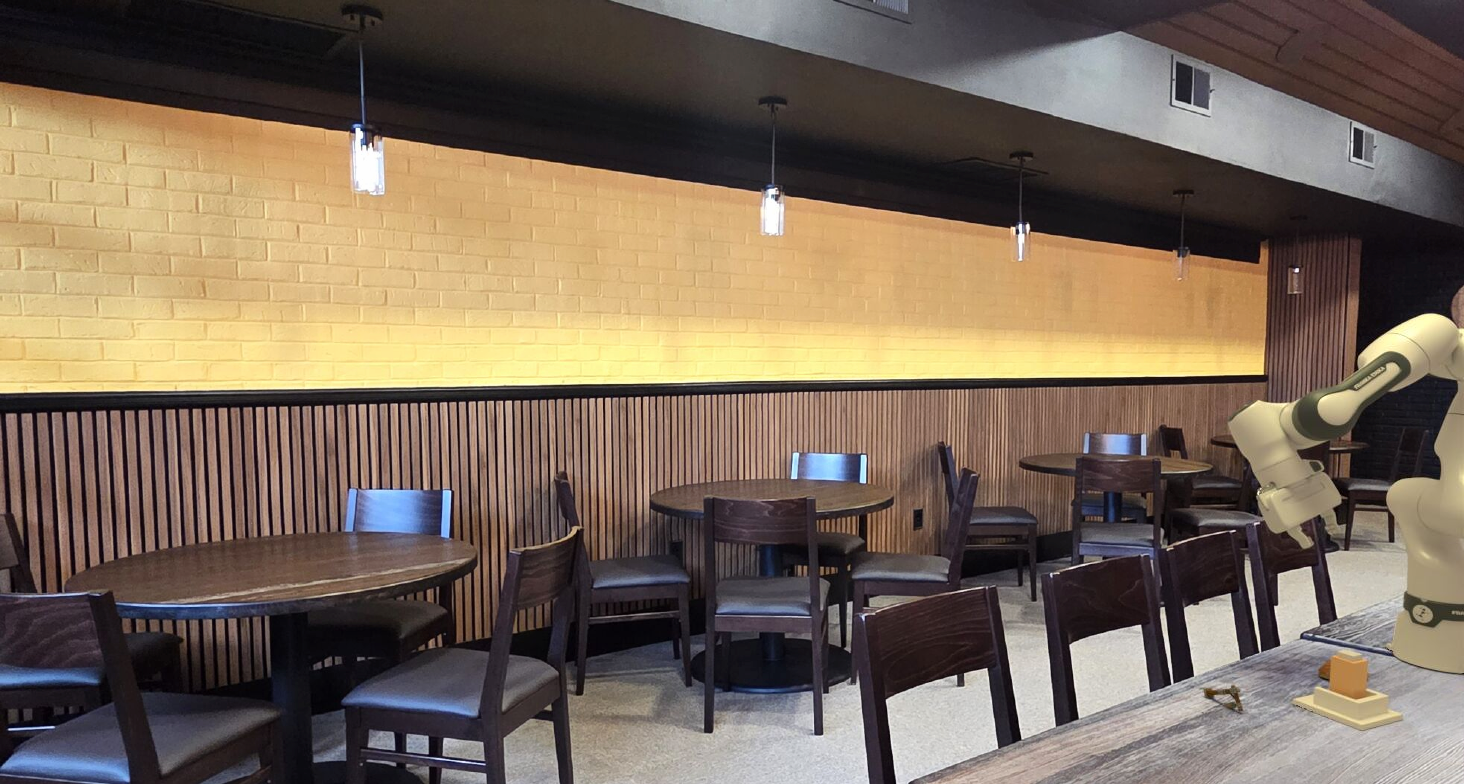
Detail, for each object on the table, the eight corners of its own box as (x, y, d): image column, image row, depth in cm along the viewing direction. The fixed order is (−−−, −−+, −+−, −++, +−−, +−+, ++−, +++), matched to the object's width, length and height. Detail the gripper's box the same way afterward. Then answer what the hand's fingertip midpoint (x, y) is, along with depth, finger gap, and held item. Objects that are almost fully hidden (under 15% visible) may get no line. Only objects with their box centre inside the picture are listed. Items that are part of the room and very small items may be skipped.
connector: (1342, 700, 160) (1345, 647, 160) (1365, 708, 157) (1368, 654, 156) (1328, 703, 159) (1331, 650, 158) (1351, 712, 155) (1354, 657, 155)
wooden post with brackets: (1241, 711, 155) (1234, 685, 157) (1209, 712, 162) (1202, 687, 164) (1249, 710, 156) (1242, 684, 157) (1216, 711, 163) (1210, 686, 164)
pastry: (1342, 687, 170) (1343, 668, 170) (1307, 675, 176) (1308, 657, 176) (1371, 680, 174) (1372, 662, 174) (1337, 669, 180) (1337, 651, 180)
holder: (1333, 694, 166) (1334, 674, 166) (1402, 719, 155) (1403, 697, 155) (1292, 704, 161) (1293, 683, 161) (1361, 730, 150) (1362, 708, 150)
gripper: (1267, 485, 168) (1306, 551, 164) (1325, 459, 178) (1364, 521, 174) (1240, 495, 174) (1278, 559, 170) (1298, 469, 183) (1335, 529, 179)
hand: (1322, 539), depth 172 cm, fingers open, 8 cm apart
